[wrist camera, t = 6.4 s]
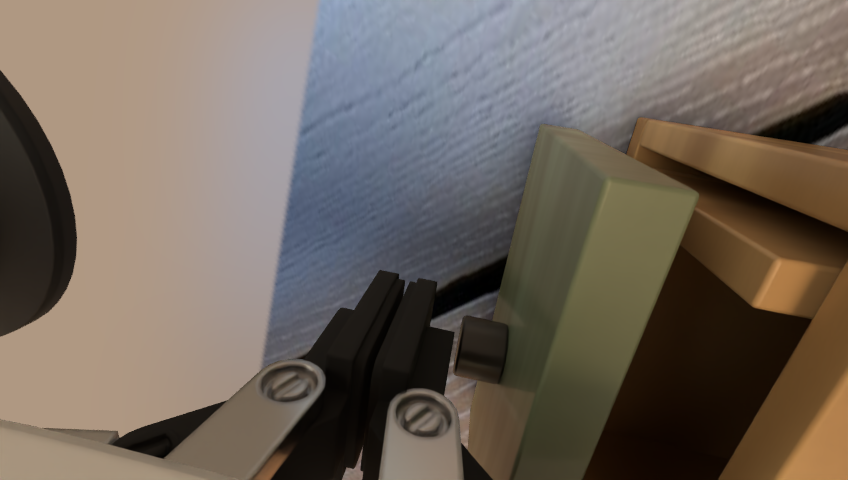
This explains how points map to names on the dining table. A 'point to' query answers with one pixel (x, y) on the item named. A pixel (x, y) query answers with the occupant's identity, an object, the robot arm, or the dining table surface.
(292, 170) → the dining table surface
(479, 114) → the dining table surface
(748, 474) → the cabinet
